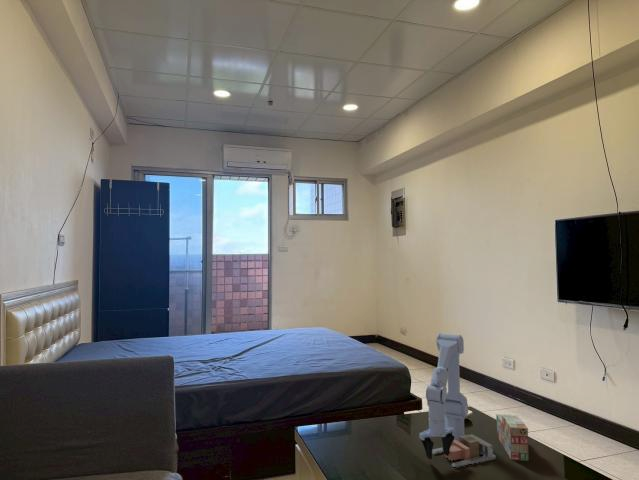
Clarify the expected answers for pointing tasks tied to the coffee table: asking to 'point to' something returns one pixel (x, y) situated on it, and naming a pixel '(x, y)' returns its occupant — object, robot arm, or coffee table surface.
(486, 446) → the pale grey flat frame
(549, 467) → the coffee table surface
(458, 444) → the block
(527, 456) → the stack of blocks
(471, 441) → the block
